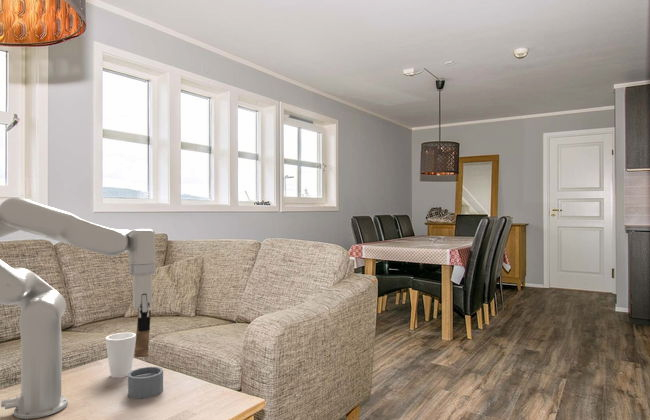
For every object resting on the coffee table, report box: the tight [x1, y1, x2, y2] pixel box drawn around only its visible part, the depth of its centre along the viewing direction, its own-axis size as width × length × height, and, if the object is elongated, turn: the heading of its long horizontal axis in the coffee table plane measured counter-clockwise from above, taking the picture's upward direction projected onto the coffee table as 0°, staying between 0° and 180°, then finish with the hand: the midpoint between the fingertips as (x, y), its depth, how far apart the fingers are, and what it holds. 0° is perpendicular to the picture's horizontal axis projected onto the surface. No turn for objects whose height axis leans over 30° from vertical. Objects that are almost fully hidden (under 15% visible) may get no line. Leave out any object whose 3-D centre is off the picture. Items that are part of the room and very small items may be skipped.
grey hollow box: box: [133, 372, 157, 377], centre depth 133 cm, size 7×5×4 cm
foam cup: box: [105, 332, 136, 379], centre depth 148 cm, size 10×9×13 cm
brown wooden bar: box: [134, 308, 152, 358], centre depth 131 cm, size 4×2×14 cm
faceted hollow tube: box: [127, 366, 164, 400], centre depth 133 cm, size 10×10×6 cm
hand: (143, 329), depth 132 cm, fingers closed on brown wooden bar, 2 cm apart
